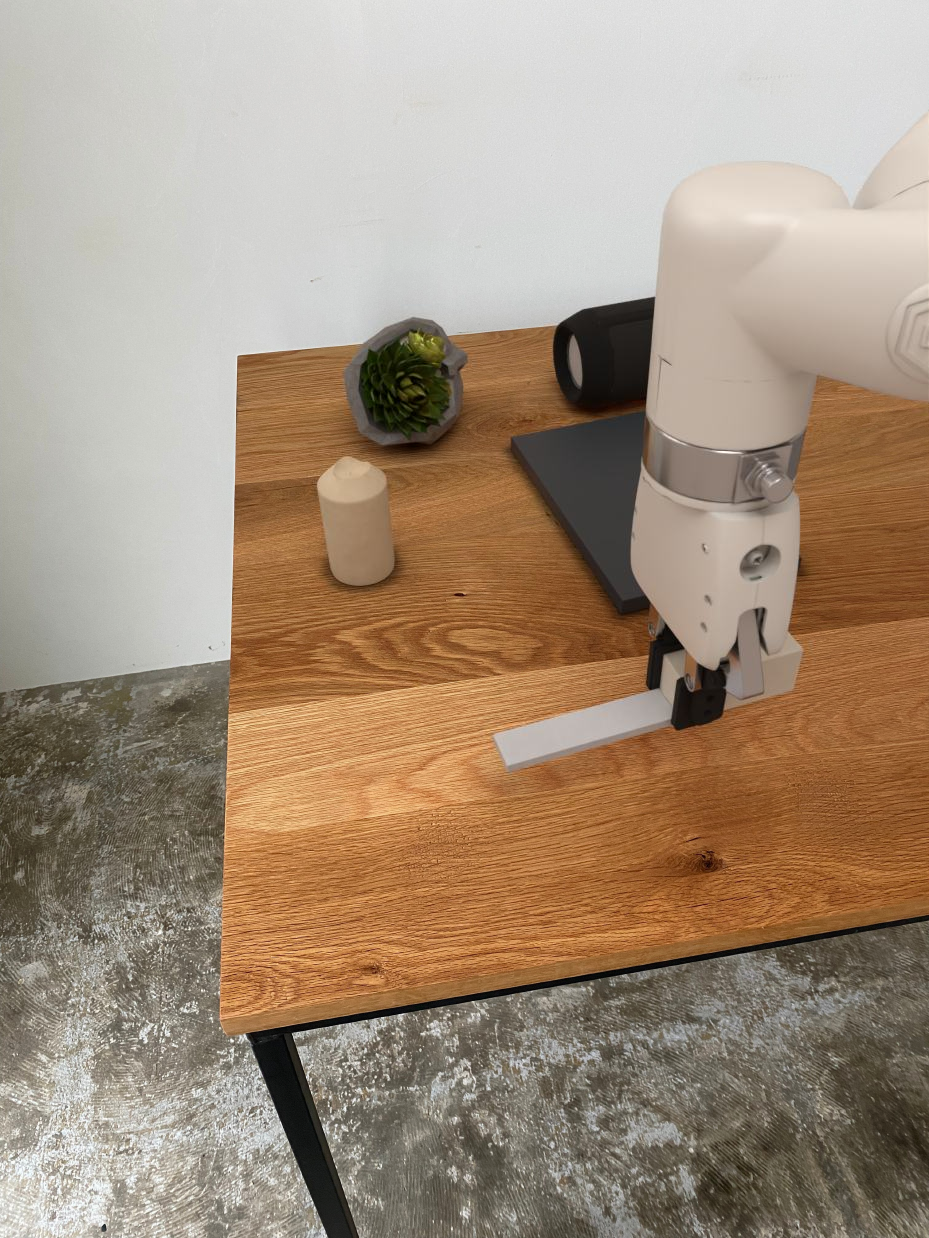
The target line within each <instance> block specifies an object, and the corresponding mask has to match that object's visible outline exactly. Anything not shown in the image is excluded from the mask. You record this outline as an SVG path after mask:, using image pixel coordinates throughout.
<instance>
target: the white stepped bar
mask: <svg viewBox="0 0 929 1238" xmlns="http://www.w3.org/2000/svg"><path fill="white" fill-rule="evenodd" d="M760 650H761V660H762V670H763V679H764V694H762V695H759V696H756V697H752V698H749V699H745V700H739V699H737V698H736V697H734V696H732V695H731V694H729V693H727V695H726V700H725V705H724V710H723V712H724V711H727V710H730V709H733V708H738V707H742V706H743V705H747V704H751V703H754V702H758V701H762V700H765V699H768V698H769V699H770V698H771V697H772V698H773V697H776V696H779V695H782V694H786V693H790V692H792V691H794V688H795V685H796V681H797V676H798V673H799V670H800V665H801V661H802V657H803V654H804V648H803V647H802V646H801V644H800V643H799V642H798V641H797V640H796V639H795V637H794V636H793V635H792V634H791V633H790V632H789V631H788V632H787V636H786V640H785V643H784V646H783V648H782V650H781V651H780V652H779V653H776V654H773V655H770V656H768V655H767V654H766V653H765V651H764V650H763V649H762V648H761V646H760ZM685 660H686V649H682V650H679V651H675V652H671V653H668V654H664V657H663V665H662V673H661V681H660V689H659V688H657V689H654V690H647V691H643V692H639V693H636V694H633V695H629V696H626V697H622V698H618V699H615V700H611V701H608V702H604V703H600V704H597V705H593V706H590V707H586V708H582V709H579V710H575V711H572V712H568V713H565V714H560V715H558V716H553V717H550V718H546V719H542V720H540V721H536V722H532V723H530V724H529V723H528V724H525V725H522V726H518V727H515V728H510V729H507V730H503V731H500V732H495V733H493V734H492V742H493V745H494V747H495V750H496V751H497V753H498V755H499V757H500V760H501V762H502V764H503V766H504V769H505V771H506V773H513V772H515V771H518V770H523V769H526V768H529V767H533V766H536V765H540V764H544V763H546V762H551V761H554V760H558V759H561V758H564V757H567V756H571V755H575V754H577V753H581V752H584V751H589V750H591V749H595V748H599V747H603V746H606V745H610V744H613V743H617V742H619V741H622V740H627V739H630V738H634V737H637V736H641V735H644V734H648V733H650V732H651V733H652V732H654V731H658V730H662V729H665V728H668V727H673V725H672V724H671V717H672V710H673V703H674V695H675V688H676V681H677V680H678V679H679V678H681V677H684V670H685Z"/></svg>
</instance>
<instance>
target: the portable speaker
mask: <svg viewBox="0 0 929 1238" xmlns="http://www.w3.org/2000/svg"><path fill="white" fill-rule="evenodd" d="M654 307H655V296H650V297H644V298H638V299H632V300H628V301H621V302H616V303H610V304H609V303H608V304H603V305H599V306H593V307H587V308H583V309H580V310H579V311H577V312H575V313H573V314H571V315H570V316H569V317H567V318H565V319H564V320H562V321H561V322H559V323H558V324H557V326H556V327H555V331H554V335H553V340H552V360H553V367H554V374H555V377H556V380H557V383H558V386H559V388H560V391H561V393H562V394H563V396H564V398H565V399H566V400H567V401H568V402H569V403H571V404H576V405H581V406H585V407H592V408H600V407H606V406H610V405H616V404H621V403H626V402H631V401H635V400H636V401H637V400H641V399H647V391H648V380H649V369H650V357H651V346H652V331H653V319H654Z"/></svg>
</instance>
